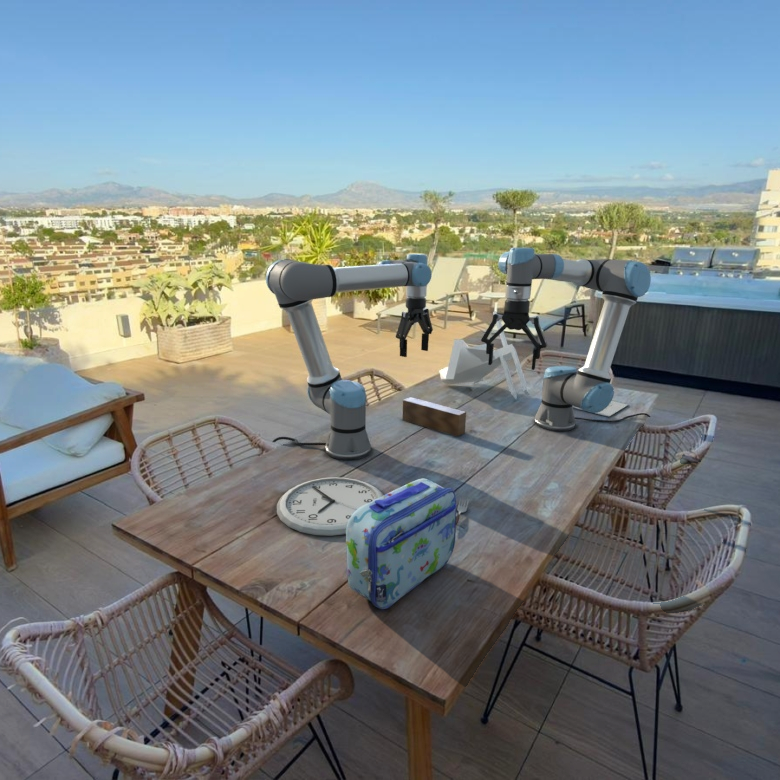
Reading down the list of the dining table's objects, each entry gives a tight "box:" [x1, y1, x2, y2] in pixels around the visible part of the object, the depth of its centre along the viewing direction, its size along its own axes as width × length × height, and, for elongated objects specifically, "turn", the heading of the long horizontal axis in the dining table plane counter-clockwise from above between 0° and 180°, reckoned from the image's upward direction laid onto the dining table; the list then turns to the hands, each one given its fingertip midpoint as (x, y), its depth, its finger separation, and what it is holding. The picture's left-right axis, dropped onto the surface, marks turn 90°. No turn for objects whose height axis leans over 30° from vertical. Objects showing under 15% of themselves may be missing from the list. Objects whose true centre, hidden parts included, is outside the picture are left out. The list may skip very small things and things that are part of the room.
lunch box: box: [345, 477, 457, 610], centre depth 110 cm, size 26×11×21 cm, turn 134°
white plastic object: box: [438, 310, 531, 400], centre depth 245 cm, size 37×45×31 cm
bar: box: [401, 396, 467, 437], centre depth 200 cm, size 26×5×8 cm, turn 51°
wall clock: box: [276, 476, 385, 537], centre depth 142 cm, size 30×2×30 cm
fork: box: [456, 497, 470, 526], centre depth 137 cm, size 3×16×2 cm, turn 160°
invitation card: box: [573, 400, 629, 418], centre depth 226 cm, size 21×1×15 cm
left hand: (414, 353), depth 199 cm, fingers open, 13 cm apart
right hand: (511, 366), depth 167 cm, fingers open, 13 cm apart
